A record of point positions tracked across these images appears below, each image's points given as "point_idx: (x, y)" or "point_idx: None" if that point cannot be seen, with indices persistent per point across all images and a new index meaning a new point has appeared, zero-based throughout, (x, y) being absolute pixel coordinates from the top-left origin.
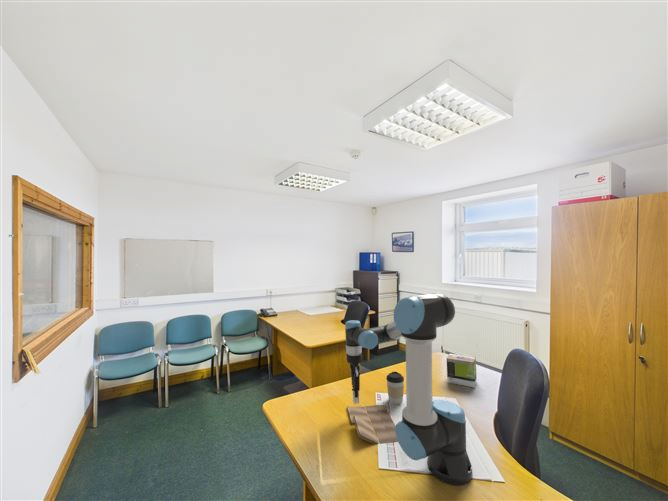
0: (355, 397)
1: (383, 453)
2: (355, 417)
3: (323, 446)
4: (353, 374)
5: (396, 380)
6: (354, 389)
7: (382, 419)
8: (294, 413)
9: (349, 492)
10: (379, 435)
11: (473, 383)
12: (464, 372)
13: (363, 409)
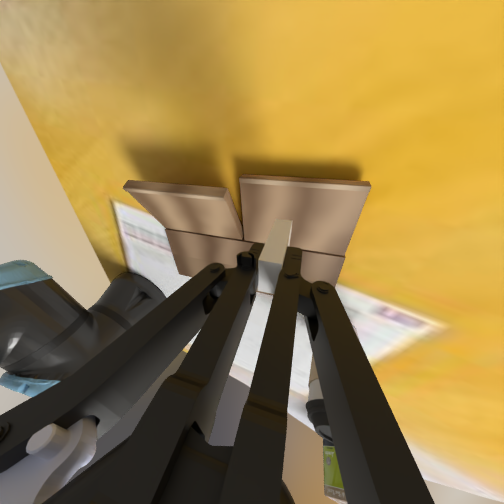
0: (255, 243)
1: (151, 225)
2: (208, 197)
3: (136, 16)
4: (168, 410)
5: (311, 413)
6: (202, 270)
7: None
8: None
9: (31, 115)
10: (191, 239)
11: None
12: (337, 461)
13: (325, 245)
